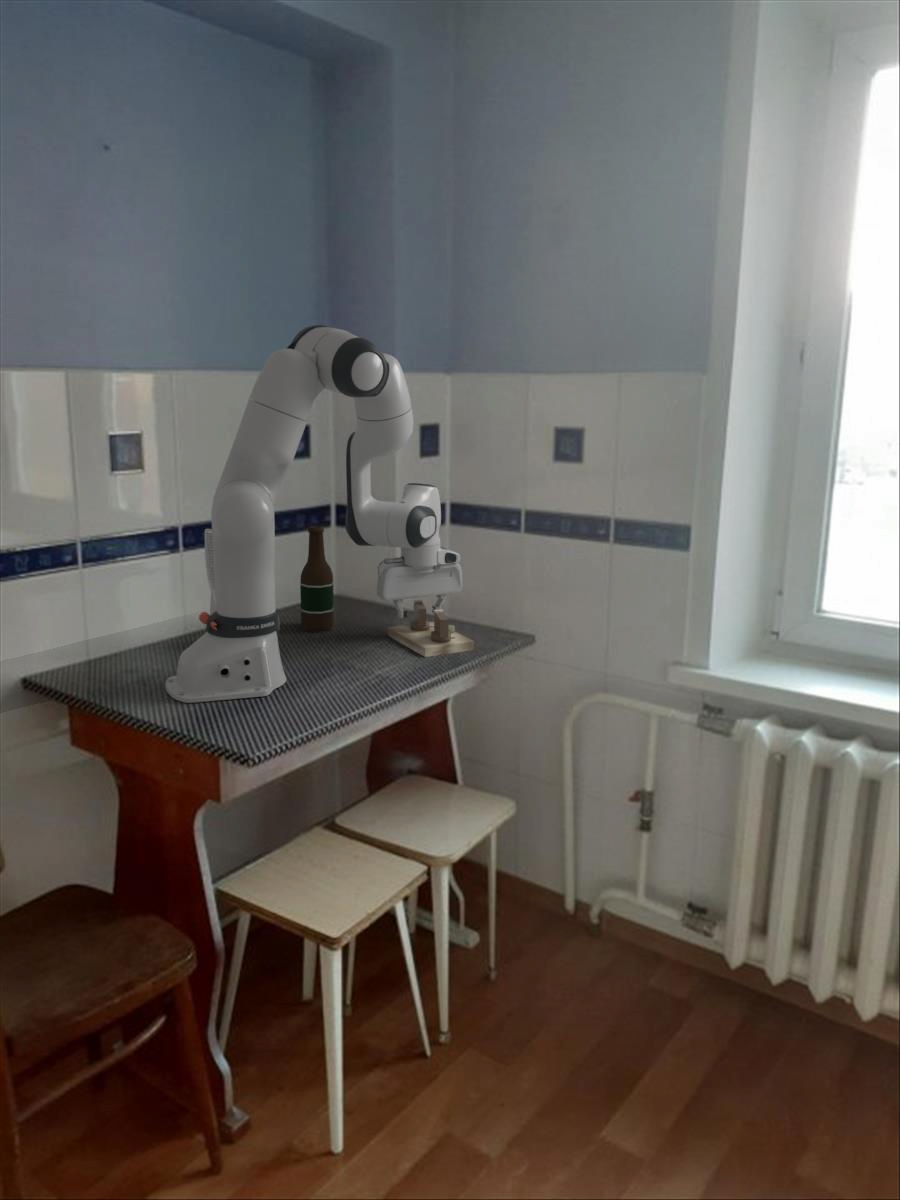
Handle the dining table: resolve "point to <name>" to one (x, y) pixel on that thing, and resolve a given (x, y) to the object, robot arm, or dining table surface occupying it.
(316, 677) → the dining table surface
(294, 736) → the dining table surface
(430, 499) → the robot arm
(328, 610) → the beer bottle
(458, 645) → the control panel
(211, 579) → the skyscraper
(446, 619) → the knob near
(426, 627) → the knob far
